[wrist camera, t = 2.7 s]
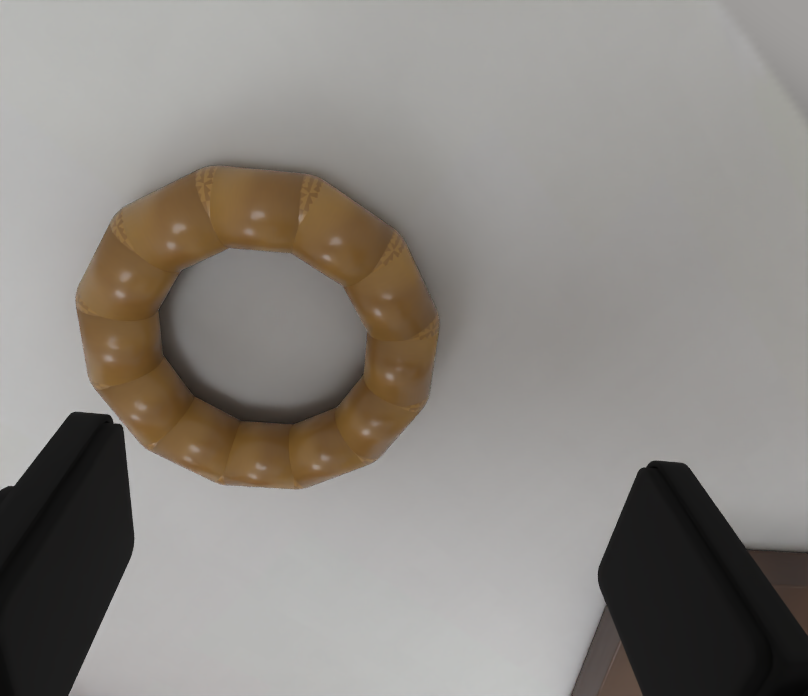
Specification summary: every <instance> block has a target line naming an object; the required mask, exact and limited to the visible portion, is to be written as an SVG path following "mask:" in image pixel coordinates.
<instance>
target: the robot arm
mask: <svg viewBox="0 0 808 696" xmlns="http://www.w3.org/2000/svg"><path fill="white" fill-rule="evenodd" d="M133 547H134V528H133V518H132V509H131V499H130V489H129V479H128V470H127V460H126V450H125V440H124V431H123V427H122V425H121V424H113V419H112V417H111V416H110V415H108V414H96V413H84V412H73V413H71V414H70V415H69V416H68V417H67V419H66V420H65V421H64V423H63V424H62V425H61V426H60V428H59V429H58V430H57V432H56V433H55V434H54V435H53V437H52V438H51V439H50V441H49V442H48V443H47V445H46V446H45V447H44V448H43V450H42V451H41V452H40V454H39V455H38V456H37V457H36V459H35V460H34V461H33V463H32V464H31V465H30V467H29V468H28V469H27V470H26V472H25V473H24V474H23V476H22V477H21V478H20V479H19V481H18V482H17V483H16V485H15V486H8V487H6V488H4V489H2V490H1V491H0V696H68V695H69V693H70V690H71V688H72V686H73V684H74V682H75V679H76V677H77V675H78V673H79V671H80V668H81V666H82V664H83V662H84V660H85V657H86V655H87V653H88V651H89V649H90V646H91V644H92V642H93V640H94V638H95V635H96V633H97V631H98V629H99V626H100V624H101V622H102V620H103V618H104V615H105V613H106V611H107V609H108V607H109V604H110V602H111V600H112V598H113V596H114V593H115V591H116V589H117V587H118V585H119V582H120V580H121V578H122V576H123V574H124V571H125V569H126V567H127V565H128V563H129V560H130V558H131V555H132V551H133ZM598 582H599V586H600V589H601V592H602V594H603V597H604V599H605V602H606V604H607V607H608V609H609V612H610V614H611V617H612V619H613V622H614V625H615V627H616V630H617V632H618V635H619V637H620V640H621V642H622V645H623V647H624V650H625V652H626V655H627V657H628V660H629V662H630V665H631V667H632V670H633V672H634V675H635V677H636V680H637V682H638V685H639V687H640V690H641V692H642V695H643V696H808V636H807V634H806V633H805V631H804V630H803V628H802V627H801V626H800V624H799V623H798V621H797V620H796V619H795V617H794V616H793V614H792V613H791V611H790V610H789V609H788V607H787V606H786V604H785V603H784V602H783V600H782V599H781V597H780V596H779V594H778V593H777V592H776V590H775V589H774V587H773V586H772V584H771V583H770V582H769V580H768V579H767V577H766V576H765V575H764V573H763V572H762V570H761V569H760V567H759V566H758V565H757V563H756V562H755V560H754V559H753V558H752V556H751V555H750V553H749V552H748V550H747V549H746V548H745V546H744V545H743V543H742V542H741V541H740V539H739V538H738V536H737V535H736V533H735V532H734V531H733V529H732V528H731V526H730V525H729V523H728V522H727V521H726V519H725V518H724V516H723V515H722V514H721V512H720V511H719V509H718V508H717V506H716V505H715V504H714V502H713V501H712V499H711V498H710V497H709V495H708V494H707V492H706V491H705V489H704V488H703V487H702V485H701V484H700V482H699V481H698V480H697V478H696V477H695V475H694V474H693V472H692V471H691V470H690V468H689V467H688V466H687V465H686V464H683V463H677V462H666V461H651V462H650V463H649V464H648V465H647V467H646V468H641V469H640V470H639V471H638V473H637V476H636V478H635V480H634V483H633V485H632V488H631V490H630V493H629V495H628V497H627V500H626V502H625V505H624V507H623V510H622V512H621V514H620V517H619V519H618V522H617V524H616V527H615V529H614V531H613V534H612V536H611V539H610V541H609V544H608V546H607V548H606V551H605V553H604V556H603V558H602V561H601V563H600V565H599V569H598Z"/></svg>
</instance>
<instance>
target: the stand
mask: <svg viewBox="0 0 808 696" xmlns="http://www.w3.org/2000/svg"><path fill="white" fill-rule="evenodd" d="M748 552H749V553H750V555H751V556H752V558H753V559H754V560H755V562H756V563H757V565H758V566H759V567H760V569H761V570H762V572H763V573H764V575H765V576H766V577H767V579H768V580H769V582H770V583H771V584H772V586H773V587H774V589H775V590H776V592H777V593H778V594H779V596H780V597H781V599H782V600H783V602H784V603H785V604H786V606H787V607H788V609H789V610H790V611H791V613H792V614H793V616H794V617H795V619H796V620H797V621H798V623H799V624H800V626H801V627H802V628H803V630H804V631H805V633H806V634H807V636H808V553H795V552H777V551H758V550H748ZM572 696H643V695H642V692H641V690H640V687H639V685H638V682H637V680H636V677H635V675H634V672H633V670H632V667H631V665H630V662H629V660H628V657H627V655H626V652H625V650H624V647H623V645H622V642H621V640H620V637H619V635H618V632H617V630H616V627H615V625H614V622H613V619H612V617H611V614H610V612H609V609H608V607H607V605H606V608H605V610H604V613H603V615H602V618H601V621H600V623H599V626H598V628H597V631H596V634H595V636H594V639H593V641H592V644H591V646H590V649H589V652H588V654H587V657H586V659H585V662H584V665H583V667H582V670H581V672H580V675H579V677H578V680H577V683H576V685H575V688H574V690H573V693H572Z"/></svg>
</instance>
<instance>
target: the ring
mask: <svg viewBox="0 0 808 696" xmlns="http://www.w3.org/2000/svg"><path fill="white" fill-rule="evenodd" d="M228 248H235V249H246V250H258V251H269V252H281V253H291V254H293V255H295V256H296V257H298V258H299V259H301V260H302V261H304V262H306V263H307V264H309V265H310V266H312V267H313V268H315V269H317V270H318V271H320V272H321V273H323V274H324V275H326V276H328V277H329V278H331V279H332V280H334V281H335V282H337V283H339V284H340V285H342V286H343V287H344V289H345V291H346V293H347V295H348V297H349V299H350V300H351V302H352V304H353V306H354V308H355V310H356V312H357V313H358V315H359V317H360V319H361V321H362V323H363V325H364V326H365V328H366V330H367V340H366V352H365V365H364V374H363V376H362V377H361V378H360V379H359V381H358V382H357V383H356V384H355V386H354V387H353V388H352V389H351V391H350V392H349V393H348V394H347V396H346V397H345V398H344V399H343V401H342V402H341V403H340V404H339V406H338V407H336V408H333V409H331V410H328V411H326V412H323V413H321V414H318V415H316V416H313V417H311V418H308V419H306V420H303V421H301V422H298V423H296V424H281V423H266V422H251V421H240V420H239V419H237V418H235V417H233V416H231V415H229V414H227V413H225V412H223V411H221V410H219V409H218V408H216V407H214V406H212V405H210V404H208V403H206V402H204V401H202V400H200V399H199V398H197V397H195V396H193V395H192V393H191V392H190V391H189V389H188V388H187V387H186V385H185V384H184V383H183V381H182V380H181V378H180V377H179V376H178V374H177V373H176V372H175V370H174V369H173V368H172V366H171V365H170V364H169V362H168V361H167V360H166V358H165V357H164V356H163V350H162V340H161V330H160V320H159V310H158V309H159V308H160V306H161V304H162V303H163V301H164V299H165V297H166V296H167V294H168V292H169V290H170V289H171V287H172V285H173V284H174V282H175V280H176V278H177V277H178V275H179V273H180V272H181V270H183V269H185V268H187V267H190V266H192V265H194V264H196V263H198V262H200V261H203V260H205V259H207V258H209V257H211V256H213V255H215V254H218V253H220V252H222V251H224V250H226V249H228ZM75 298H76V300H75V301H76V309H77V315H78V320H79V326H80V332H81V338H82V344H83V350H84V355H85V361H86V367H87V373H88V377H89V380H90V382H91V384H92V385H93V387H94V388H95V390H96V391H97V392H98V393H99V394H100V396H101V397H102V398H103V399H104V400H105V402H106V403H107V404H108V405H109V406H110V408H111V409H112V410H113V411H114V412H115V414H116V415H117V416H118V417H119V419H120V420H121V421H122V422H123V423H124V425H125V426H126V427H127V428H128V429H129V431H130V432H131V433H132V434H133V435H134V437H135V438H136V439H137V440H138V441H139V443H140V444H142V445H143V446H144V447H145V448H146V449H148V450H149V451H151V452H153V453H155V454H157V455H159V456H161V457H163V458H166V459H168V460H170V461H172V462H174V463H176V464H178V465H180V466H182V467H184V468H186V469H188V470H190V471H192V472H194V473H197V474H199V475H201V476H203V477H205V478H207V479H209V480H211V481H213V482H215V483H218V484H221V485H230V486H247V487H264V488H281V489H303V488H307V487H310V486H313V485H316V484H318V483H321V482H324V481H326V480H329V479H332V478H334V477H337V476H340V475H342V474H345V473H348V472H350V471H353V470H356V469H358V468H361V467H364V466H366V465H369V464H371V463H373V462H375V461H376V460H377V459H378V458H380V457H381V456H382V455H383V453H384V452H385V451H386V450H387V449H388V448H389V447H390V445H391V444H392V443H393V442H394V441H395V440H396V439H397V437H398V436H399V435H400V434H401V433H402V432H403V431H404V429H405V428H406V427H407V426H408V425H409V424H410V422H411V421H412V420H413V419H414V418H415V417H416V416H417V414H418V413H419V412H420V411H421V410H422V409H423V407H424V406H425V404H426V402H427V400H428V398H429V394H430V389H431V382H432V375H433V368H434V362H435V355H436V348H437V341H438V334H439V323H440V322H439V315H438V312H437V309H436V307H435V305H434V303H433V301H432V298H431V296H430V294H429V292H428V290H427V288H426V286H425V283H424V281H423V279H422V277H421V275H420V273H419V271H418V268H417V266H416V264H415V262H414V260H413V258H412V256H411V253H410V251H409V249H408V247H407V245H406V243H405V241H404V239H403V238H402V236H401V235H400V234H399V233H398V232H397V231H396V230H395V229H394V228H392V227H391V226H390V225H388V224H387V223H385V222H384V221H382V220H381V219H379V218H378V217H377V216H375V215H374V214H372V213H371V212H369V211H368V210H366V209H365V208H364V207H362V206H361V205H359V204H358V203H356V202H355V201H353V200H352V199H350V198H349V197H348V196H346V195H345V194H343V193H342V192H340V191H339V190H337V189H336V188H335V187H333V186H332V185H330V184H329V183H327V182H326V181H324V180H322V179H321V178H319V177H316V176H314V175H310V174H303V173H293V172H282V171H272V170H262V169H251V168H241V167H231V166H220V165H218V166H217V165H214V166H207V167H204V168H201V169H199V170H197V171H195V172H193V173H191V174H189V175H187V176H185V177H183V178H181V179H179V180H177V181H175V182H173V183H170V184H168V185H166V186H164V187H162V188H160V189H158V190H156V191H154V192H152V193H150V194H148V195H146V196H144V197H142V198H140V199H138V200H136V201H134V202H132V203H130V204H128V205H126V206H125V207H123V208H122V209H120V210H119V211H118V212H117V213H116V214H115V216H114V217H113V219H112V220H111V222H110V224H109V226H108V228H107V230H106V232H105V234H104V236H103V238H102V240H101V242H100V244H99V246H98V248H97V250H96V252H95V254H94V256H93V258H92V260H91V262H90V264H89V266H88V268H87V270H86V272H85V274H84V276H83V278H82V280H81V282H80V284H79V286H78V288H77V292H76V297H75Z"/></svg>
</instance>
